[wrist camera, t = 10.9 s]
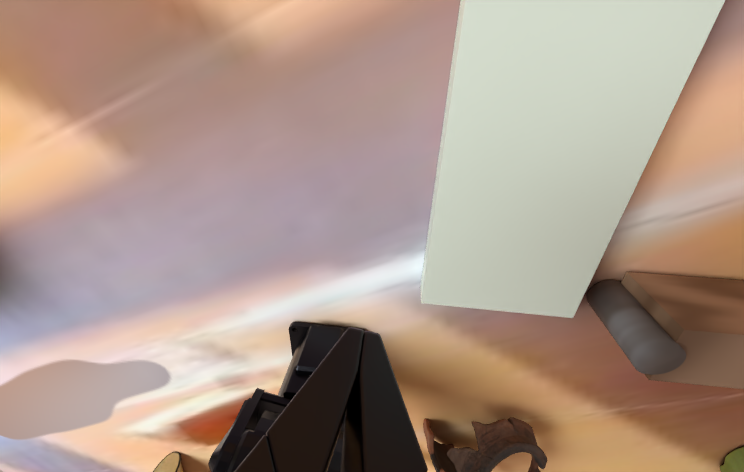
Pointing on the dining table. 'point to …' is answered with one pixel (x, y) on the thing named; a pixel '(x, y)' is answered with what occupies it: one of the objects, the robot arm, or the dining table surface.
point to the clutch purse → (170, 463)
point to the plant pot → (734, 461)
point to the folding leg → (676, 326)
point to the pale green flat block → (549, 142)
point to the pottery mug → (486, 447)
